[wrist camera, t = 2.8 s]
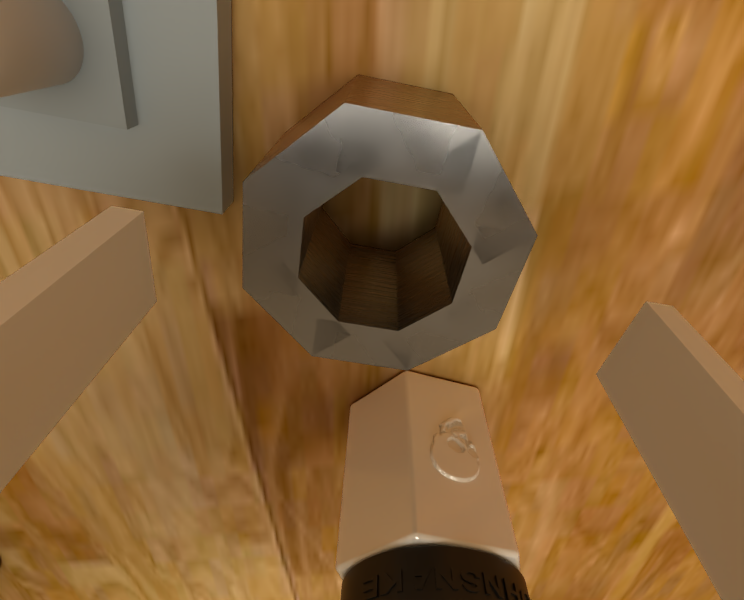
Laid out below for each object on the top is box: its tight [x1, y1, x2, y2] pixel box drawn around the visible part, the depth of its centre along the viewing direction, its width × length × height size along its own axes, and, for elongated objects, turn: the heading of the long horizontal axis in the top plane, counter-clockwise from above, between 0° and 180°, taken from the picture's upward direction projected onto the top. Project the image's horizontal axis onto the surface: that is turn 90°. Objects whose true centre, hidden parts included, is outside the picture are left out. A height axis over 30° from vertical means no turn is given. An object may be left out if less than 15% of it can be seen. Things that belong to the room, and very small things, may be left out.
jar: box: [336, 371, 530, 600], centre depth 21 cm, size 9×8×12 cm
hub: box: [243, 75, 537, 370], centre depth 16 cm, size 9×9×6 cm
